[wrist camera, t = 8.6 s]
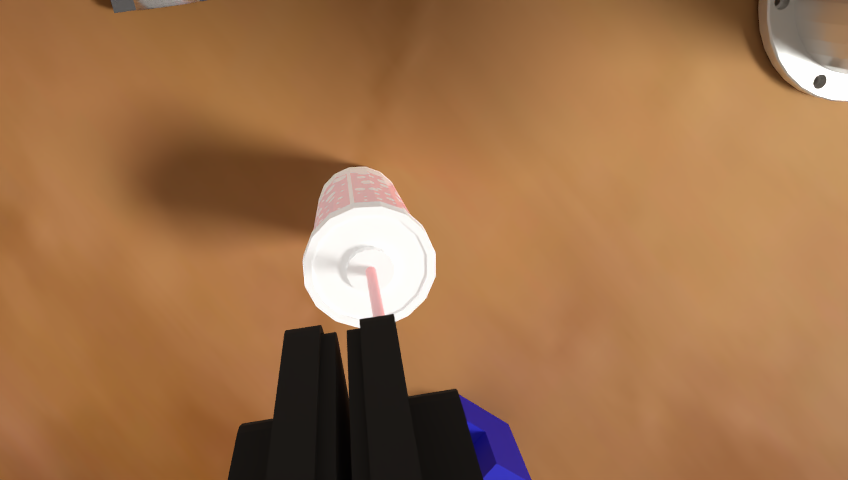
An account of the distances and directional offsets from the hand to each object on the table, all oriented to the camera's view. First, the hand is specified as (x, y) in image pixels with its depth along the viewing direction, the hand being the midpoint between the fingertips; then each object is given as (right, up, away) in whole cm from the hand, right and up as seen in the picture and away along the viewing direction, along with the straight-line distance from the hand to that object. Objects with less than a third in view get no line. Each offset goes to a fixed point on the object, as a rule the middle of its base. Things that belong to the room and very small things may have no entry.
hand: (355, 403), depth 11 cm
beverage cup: (-3, +5, +29) cm, 29 cm away
